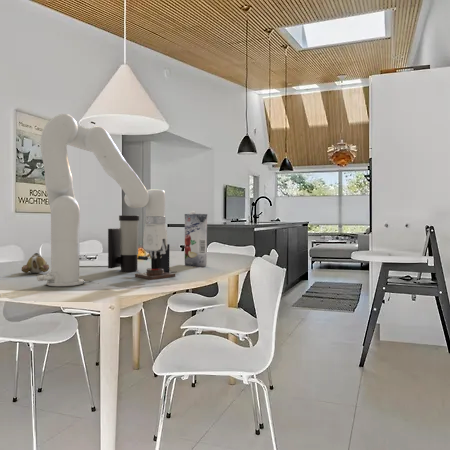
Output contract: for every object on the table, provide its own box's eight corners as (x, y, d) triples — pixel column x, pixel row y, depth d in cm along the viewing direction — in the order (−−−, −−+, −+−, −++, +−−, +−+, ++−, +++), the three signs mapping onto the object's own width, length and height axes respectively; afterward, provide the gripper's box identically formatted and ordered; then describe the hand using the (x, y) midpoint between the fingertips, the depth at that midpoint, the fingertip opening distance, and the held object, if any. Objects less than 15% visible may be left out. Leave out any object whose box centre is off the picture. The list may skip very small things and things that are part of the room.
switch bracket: (157, 276, 175) (157, 245, 175) (146, 274, 181) (146, 244, 180) (176, 274, 182) (177, 244, 182) (165, 272, 188) (165, 243, 187)
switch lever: (146, 261, 172) (144, 256, 172) (138, 260, 176) (137, 255, 175) (168, 250, 181) (167, 244, 180) (161, 249, 184) (159, 244, 183)
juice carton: (196, 264, 220) (197, 211, 219) (209, 266, 211) (209, 211, 211) (182, 265, 214) (182, 211, 213) (194, 267, 206) (194, 210, 205)
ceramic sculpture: (51, 250, 193) (48, 255, 179) (51, 269, 194) (48, 276, 179) (24, 251, 190) (19, 256, 175) (25, 270, 190) (20, 277, 176)
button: (154, 274, 165) (154, 269, 165) (148, 273, 168) (148, 268, 168) (161, 273, 168) (161, 268, 168) (156, 272, 170) (156, 267, 170)
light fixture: (132, 275, 178) (132, 215, 178) (107, 274, 180) (107, 215, 180) (143, 271, 190) (143, 215, 190) (120, 271, 192) (120, 215, 192)
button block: (150, 282, 160) (150, 271, 160) (134, 279, 167) (134, 269, 167) (175, 279, 169) (175, 269, 169) (159, 276, 176) (159, 266, 176)
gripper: (136, 221, 170) (136, 267, 170) (159, 221, 160) (160, 271, 160) (151, 221, 175) (152, 266, 176) (175, 221, 165) (175, 269, 165)
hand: (155, 268), depth 168 cm, fingers closed
